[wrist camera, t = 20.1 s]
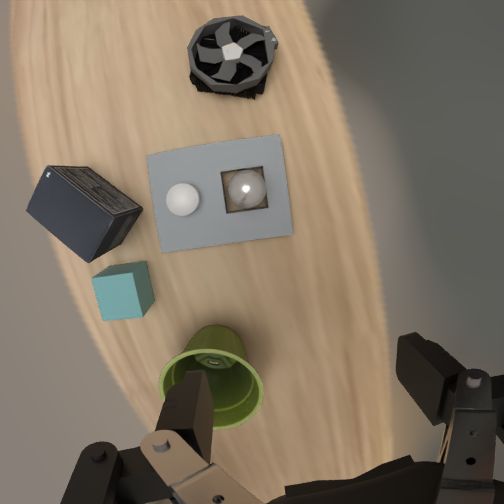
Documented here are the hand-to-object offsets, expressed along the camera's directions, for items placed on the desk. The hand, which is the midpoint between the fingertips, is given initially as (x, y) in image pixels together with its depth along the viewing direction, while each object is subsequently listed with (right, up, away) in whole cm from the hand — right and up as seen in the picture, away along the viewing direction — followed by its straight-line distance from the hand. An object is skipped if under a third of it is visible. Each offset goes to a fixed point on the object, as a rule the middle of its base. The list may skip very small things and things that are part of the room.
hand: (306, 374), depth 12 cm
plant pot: (-7, -9, +32) cm, 34 cm away
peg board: (-6, +12, +28) cm, 31 cm away
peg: (-3, +13, +28) cm, 31 cm away
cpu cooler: (-5, +29, +25) cm, 39 cm away
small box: (-22, +11, +28) cm, 37 cm away
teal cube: (-19, +1, +30) cm, 35 cm away
